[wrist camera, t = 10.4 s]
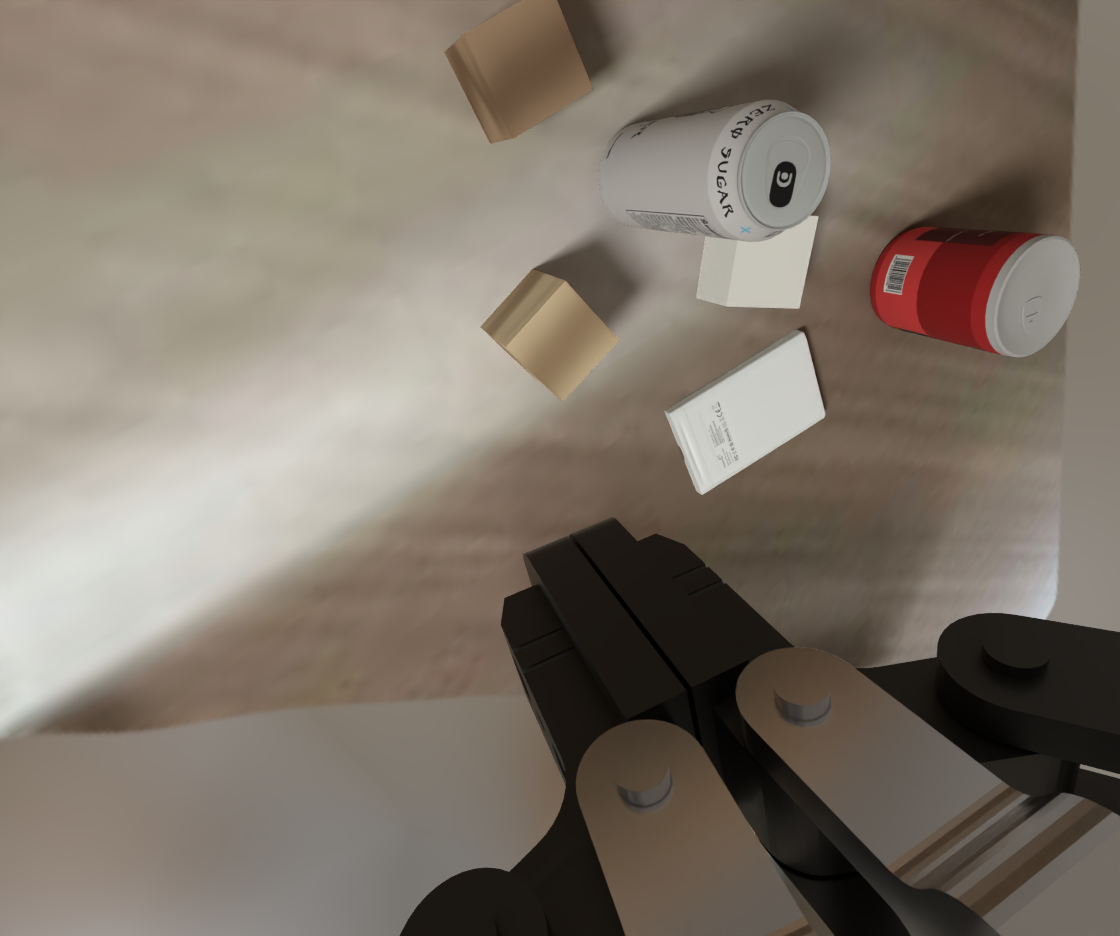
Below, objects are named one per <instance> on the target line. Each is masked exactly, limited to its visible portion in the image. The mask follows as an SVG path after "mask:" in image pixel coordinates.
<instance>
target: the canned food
mask: <svg viewBox="0 0 1120 936" xmlns="http://www.w3.org/2000/svg"><path fill="white" fill-rule="evenodd" d="M1080 271H1081V269H1080V260H1079V256H1078V253H1077V250H1076V249H1075V247H1074V245H1073V244H1072V243H1071V242H1070V241H1069V240H1068V239H1066V238H1063V237H1060V236H1054V235H1047V234H1037V233H1021V232H1004V231H987V230H971V229H954V228H937V227H919V228H915V229H912V230H909V231H906V232H904V233H902V234H900V235H898V236H897V237H896V238H894V239H893V240H892V241H891V242H890V243H889V244H888V245H887V246H886V248H885V249H884V251H883V252H882V254H881V255H880V257H879V259H878V261H877V263H876V265H875V268H874V271H873V274H872V279H871V287H870V296H871V303H872V306H873V309H874V311H875V313H876V315H877V316H878V317H879V318H880V320H881V321H883V322H884V323H886V324H887V325H889V326H890V327H892V328H894V329H898V330H902V331H906V332H910V333H914V334H918V335H922V336H927V337H931V338H935V339H939V340H943V341H947V342H951V343H955V344H959V345H963V346H967V347H971V348H975V349H979V350H983V351H987V352H991V353H996V354H1001V355H1005V356H1014V357H1025V356H1028V355H1031V354H1033V353H1035V352H1037V351H1038V350H1040V349H1041V348H1043V347H1044V346H1045V345H1046V344H1048V343H1049V342H1050V341H1051V340H1052V338H1053V337H1054V336H1055V335H1056V334H1057V333H1058V331H1059V330H1060V329H1061V327H1062V326H1063V324H1064V323H1065V321H1066V319H1067V317H1068V316H1069V314H1070V311H1071V309H1072V307H1073V305H1074V302H1075V299H1076V296H1077V292H1078V288H1079V282H1080Z"/></svg>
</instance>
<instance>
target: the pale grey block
mask: <svg viewBox="0 0 1120 936" xmlns="http://www.w3.org/2000/svg"><path fill="white" fill-rule="evenodd" d="M818 217H819V216H809V217H808V218H807V219H806V220H804V221H803V222H802V223H801V224H799V225H797V226H795V227H793V228H791V229H787V230H785V231H783V232H782V233H781V234H779V235H777V236H775V237H773V238H771V239H768V240H764V241H760V242H747V241H739V240H731V239H723V238H715V237H707V236H705V243H704V249H703V256H702V263H701V269H700V276H699V282H698V289H697V296H696V298H699V299H702V300H706V301H709V302H713V303H716V304H720V305H723V306H730V307H765V308H799V307H800V302H801V297H802V293H803V288H804V283H805V278H806V274H807V269H808V264H809V260H810V255H811V250H812V245H813V241H814V236H815V231H816V227H817V222H818Z"/></svg>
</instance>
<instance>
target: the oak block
mask: <svg viewBox="0 0 1120 936" xmlns="http://www.w3.org/2000/svg"><path fill="white" fill-rule="evenodd" d="M481 328H482V329H483V330H484V331H485V332H486V333H487V334H488V335H489V336H490V337H491V338H492V339H493V340H495V341H496V342H497V343H498V344H499V345H500V346H501V347H502V348H503V349H504V350H505V351H506V352H507V353H508V354H509V355H510V356H511V357H512V358H514V359H515V360H516V361H517V362H518V363H519V364H520V365H521V366H522V367H523V368H524V369H525V370H526V371H527V372H528V373H529V374H530V375H531V376H533V377H534V378H535V379H536V380H537V381H539V382H540V383H541V384H542V385H543V386H545V387H546V388H547V389H548V390H549V391H551V392H552V393H553V394H554V395H555V396H557V397H558V398H559V399H560V400H562V401H564V400H565V399H566V398H567V397H568V396H569V394H570V393H571V392H572V391H573V390H574V389H575V388H576V387H577V386H578V385H579V384H580V382H581V381H582V380H583V379H584V378H585V377H586V376H587V375H588V374H589V373H590V372H591V370H592V369H593V368H594V367H595V366H596V365H597V364H598V363H599V362H600V361H601V359H602V358H603V357H604V356H605V355H606V354H607V353H608V352H609V351H610V350H611V349H612V347H613V346H614V345H615V344H616V343H617V342H618V341H619V339H618V338H617V337H616V336H615V335H614V334H613V333H612V331H611V330H610V329H609V328H608V327H607V326H606V325H605V324H604V323H603V322H602V320H601V319H600V318H599V317H598V316H597V315H596V314H595V313H594V312H593V311H592V309H591V308H590V307H589V306H588V305H587V304H586V303H585V302H584V301H583V300H582V298H581V297H580V296H579V295H578V294H577V293H576V292H575V291H574V290H573V289H572V287H571V286H570V285H569V284H568V283H567V282H566V281H565V280H562V279H559V278H556V277H554V276H551V275H548V274H545V273H543V272H540V271H537V270H534V269H532V270H531V271H530V273H529V274H528V275H527V276H526V277H525V278H524V279H523V280H522V281H521V283H520V284H519V285H518V286H517V287H516V288H515V289H514V290H513V291H512V293H511V294H510V295H509V296H508V297H507V298H506V299H505V300H504V301H503V303H502V304H501V305H500V306H499V307H498V308H497V309H496V310H495V311H494V313H493V314H492V315H491V316H490V317H489V318H488V319H487V320H486V321H485V323H484V324H483V325H482V326H481Z"/></svg>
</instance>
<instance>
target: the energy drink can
mask: <svg viewBox="0 0 1120 936" xmlns="http://www.w3.org/2000/svg"><path fill="white" fill-rule="evenodd" d="M830 172H831V151H830V145H829V142H828V139H827V136H826V134H825V132H824V130H823V129H822V127H821V126H820V125H819V123H818V122H817V121H816V120H815V119H814V118H812V117H811V116H809V115H808V114H805V113H802V112H799V111H798V110H796V109H795V108H793V107H792V106H790V105H789V104H787V103H784V102H782V101H779V100H769V99H765V100H760V101H754V102H749V103H744V104H738V105H733V106H727V107H722V108H717V109H711V110H706V111H700V112H695V113H689V114H684V115H679V116H673V117H668V118H662V119H657V120H652V121H646V122H641V123H636V124H632V125H630V126H627V127H625V128H623V129H622V130H621V131H619V132H618V133H617V134H616V135H615V136H614V137H613V138H612V139H611V141H610V142H609V143H608V145H607V147H606V149H605V150H604V153H603V156H602V158H601V161H600V167H599V178H598V182H599V189H600V194H601V197H602V200H603V202H604V204H605V206H606V208H607V210H608V211H609V212H610V213H611V214H612V216H613V217H614V218H616V219H617V220H618V221H619V222H621V223H623V224H625V225H627V226H631V227H636V228H644V229H652V230H659V231H667V232H675V233H683V234H691V235H699V236H707V237H715V238H723V239H731V240H739V241H747V242H760V241H764V240H768V239H771V238H773V237H775V236H777V235H779V234H781V233H782V232H783V231H785V230H787V229H791V228H793V227H795V226H797V225H799V224H801V223H802V222H803V221H804V220H806V219H807V218H808V217H809V216H810V215H811V214H812V213H813V212H814V211H815V209H816V208H817V206H818V205H819V203H820V202H821V200H822V198H823V196H824V193H825V191H826V189H827V185H828V182H829V178H830Z"/></svg>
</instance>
